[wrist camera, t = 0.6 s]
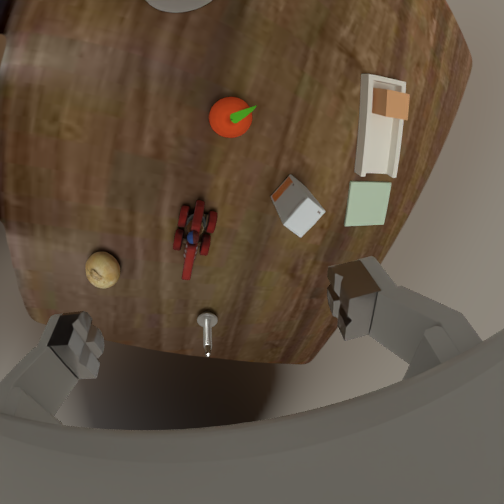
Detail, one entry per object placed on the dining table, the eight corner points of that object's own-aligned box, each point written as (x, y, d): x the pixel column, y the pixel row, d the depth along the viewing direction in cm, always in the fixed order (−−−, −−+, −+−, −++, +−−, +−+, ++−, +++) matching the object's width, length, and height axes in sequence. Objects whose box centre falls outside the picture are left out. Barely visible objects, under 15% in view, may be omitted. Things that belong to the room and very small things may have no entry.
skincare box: (289, 172, 52) (308, 195, 42) (305, 186, 54) (327, 211, 44) (268, 196, 54) (282, 225, 44) (285, 208, 56) (301, 239, 46)
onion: (128, 258, 58) (120, 278, 52) (115, 282, 60) (107, 303, 54) (97, 240, 54) (86, 259, 48) (85, 265, 57) (75, 285, 51)
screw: (203, 323, 70) (193, 311, 67) (220, 317, 69) (211, 304, 67) (204, 365, 59) (192, 354, 57) (223, 359, 58) (212, 347, 56)
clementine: (243, 86, 43) (248, 86, 37) (262, 120, 46) (269, 125, 40) (201, 108, 44) (199, 111, 38) (221, 141, 47) (222, 149, 42)
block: (370, 87, 43) (387, 89, 38) (391, 91, 44) (409, 94, 39) (369, 112, 46) (385, 116, 41) (390, 115, 47) (407, 120, 42)
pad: (349, 181, 54) (351, 182, 54) (390, 182, 55) (391, 182, 55) (344, 225, 60) (345, 226, 59) (382, 223, 61) (383, 224, 60)
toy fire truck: (220, 200, 54) (222, 225, 45) (205, 254, 59) (204, 286, 51) (184, 192, 52) (178, 216, 43) (172, 248, 58) (166, 279, 49)
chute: (361, 73, 43) (368, 73, 40) (397, 81, 43) (406, 82, 41) (354, 171, 53) (360, 176, 51) (388, 173, 54) (396, 177, 52)
